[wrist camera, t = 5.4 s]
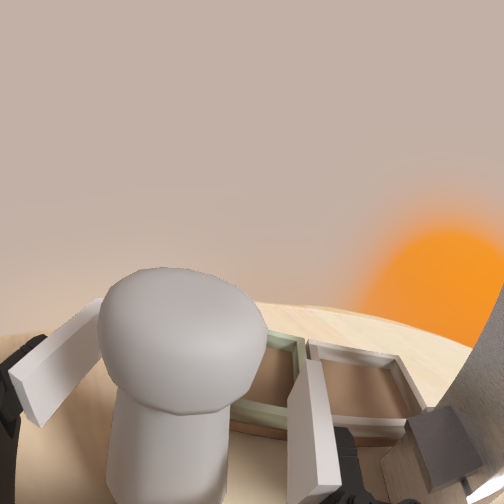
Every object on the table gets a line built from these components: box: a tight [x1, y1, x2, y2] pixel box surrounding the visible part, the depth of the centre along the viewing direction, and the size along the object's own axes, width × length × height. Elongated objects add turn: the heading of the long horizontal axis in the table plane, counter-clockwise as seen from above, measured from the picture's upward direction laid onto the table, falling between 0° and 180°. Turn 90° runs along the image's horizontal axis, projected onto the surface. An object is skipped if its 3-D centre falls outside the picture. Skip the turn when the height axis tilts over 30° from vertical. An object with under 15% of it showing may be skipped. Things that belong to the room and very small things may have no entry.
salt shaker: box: [97, 267, 268, 504], centre depth 8 cm, size 6×6×13 cm
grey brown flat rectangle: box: [229, 330, 427, 447], centre depth 21 cm, size 22×11×2 cm, turn 84°
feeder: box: [380, 284, 504, 504], centre depth 8 cm, size 8×8×19 cm
